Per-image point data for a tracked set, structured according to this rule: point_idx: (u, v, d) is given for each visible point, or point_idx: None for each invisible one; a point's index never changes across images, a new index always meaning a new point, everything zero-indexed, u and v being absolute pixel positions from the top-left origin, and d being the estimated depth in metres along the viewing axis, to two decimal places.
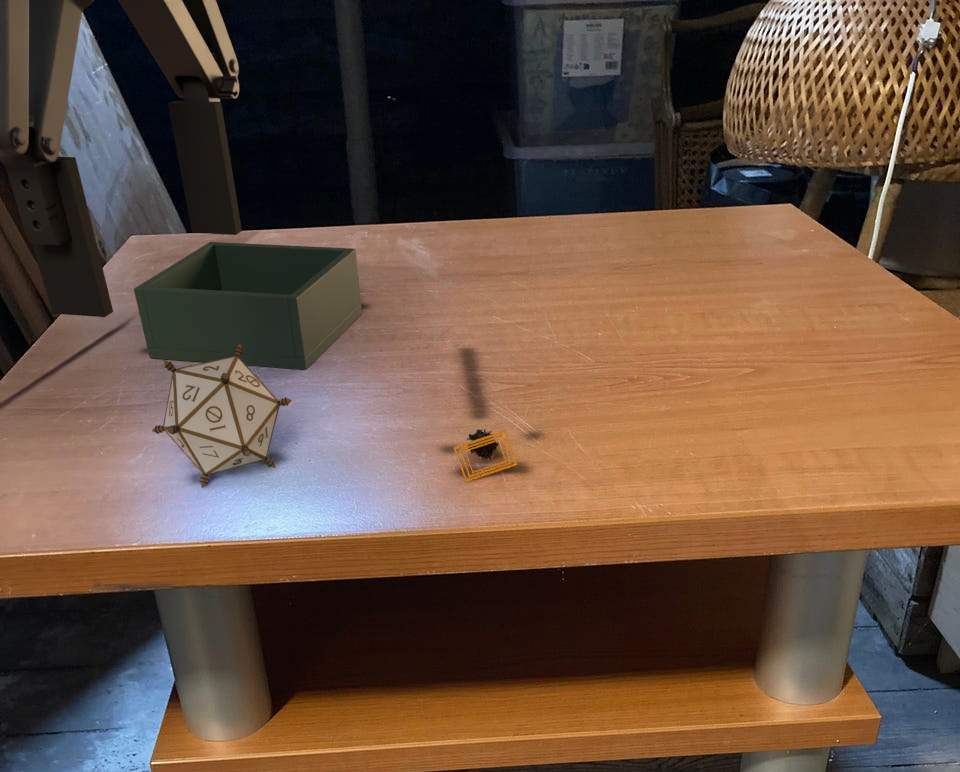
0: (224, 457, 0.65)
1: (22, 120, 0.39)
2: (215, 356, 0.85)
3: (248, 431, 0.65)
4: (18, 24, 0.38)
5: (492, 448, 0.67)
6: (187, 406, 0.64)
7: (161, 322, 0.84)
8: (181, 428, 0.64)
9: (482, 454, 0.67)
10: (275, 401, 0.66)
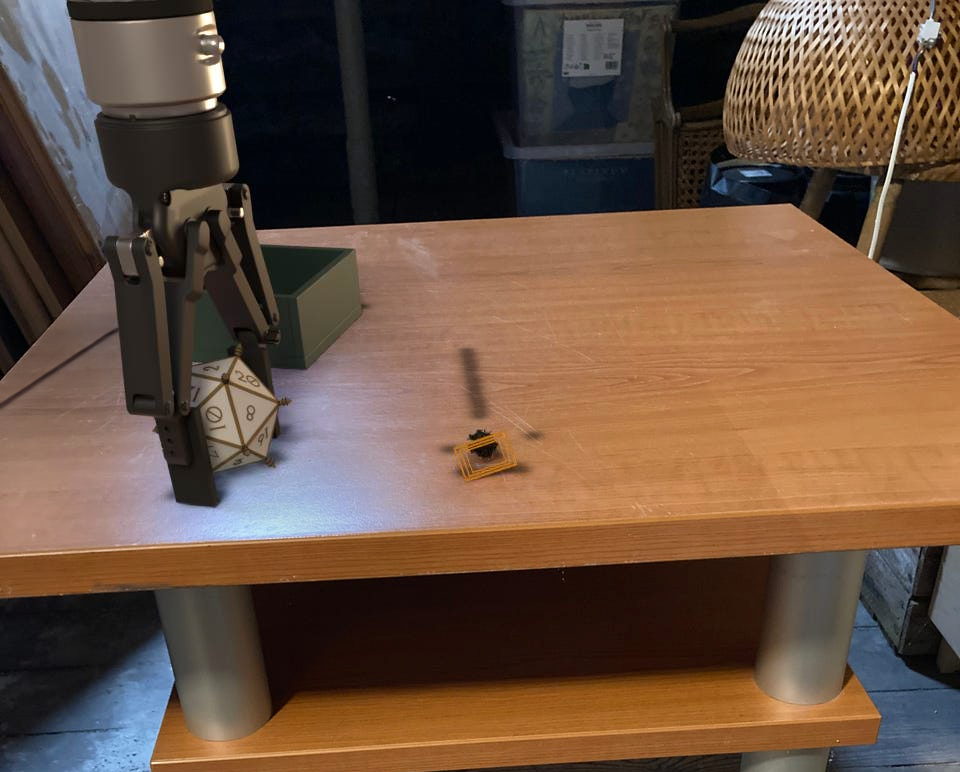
0: (224, 457, 0.65)
1: (169, 395, 0.58)
2: (215, 356, 0.85)
3: (248, 431, 0.65)
4: (162, 336, 0.57)
5: (492, 448, 0.67)
6: None
7: None
8: None
9: (482, 454, 0.67)
10: (275, 401, 0.66)
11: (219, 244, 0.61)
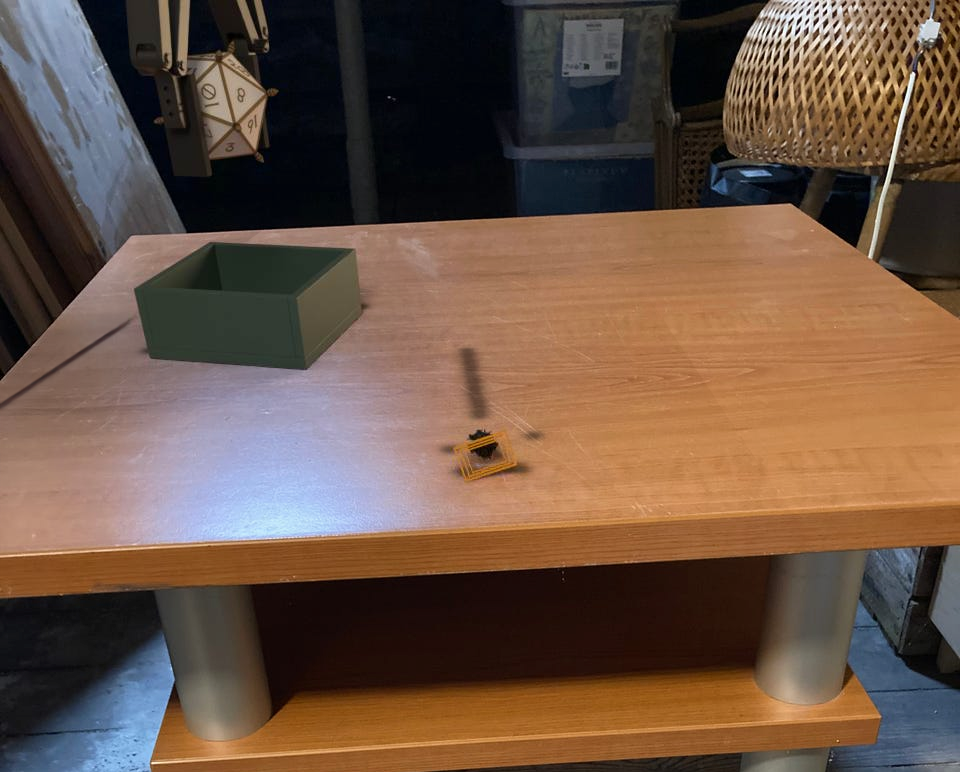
0: (217, 137, 0.74)
1: (168, 47, 0.66)
2: (215, 356, 0.85)
3: (238, 111, 0.73)
4: None
5: (492, 448, 0.67)
6: None
7: (161, 322, 0.84)
8: None
9: (482, 454, 0.67)
10: (263, 90, 0.74)
11: None
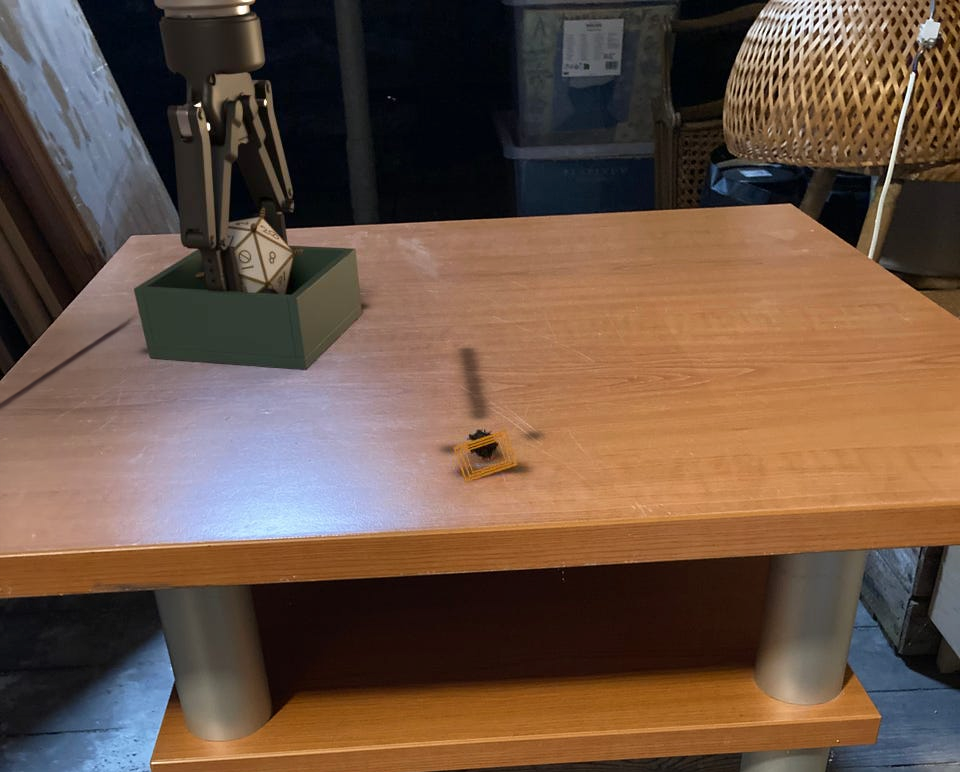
0: (252, 292, 0.85)
1: (213, 231, 0.78)
2: (215, 356, 0.85)
3: (270, 271, 0.84)
4: (209, 184, 0.76)
5: (492, 448, 0.67)
6: None
7: (161, 322, 0.84)
8: None
9: (482, 454, 0.67)
10: (291, 251, 0.86)
11: (249, 123, 0.81)
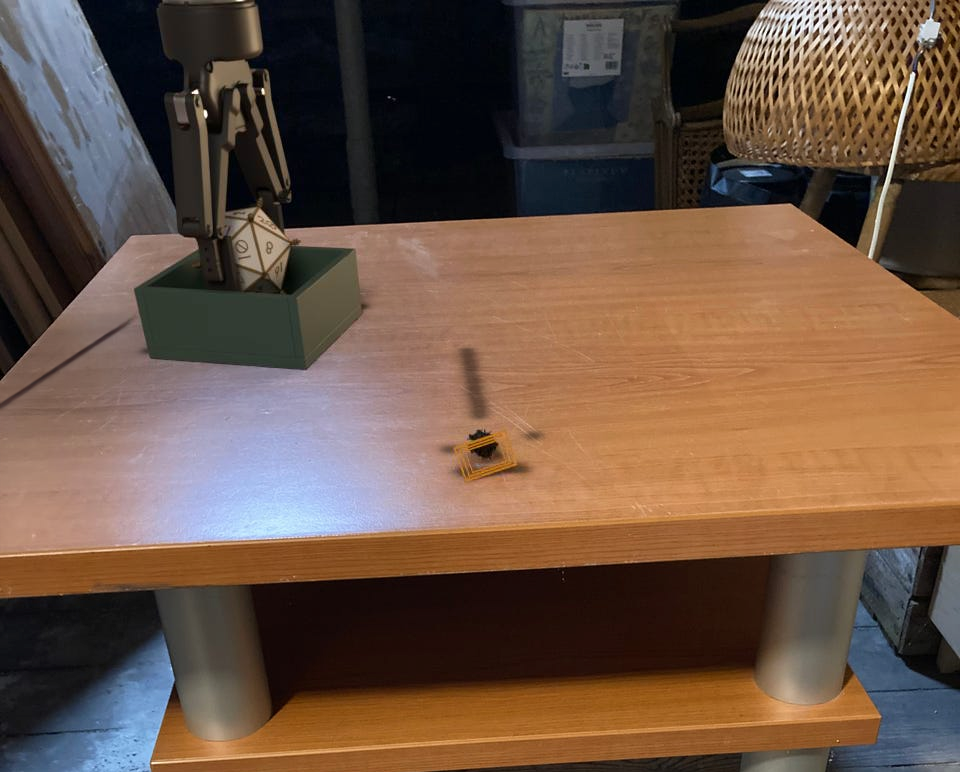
0: (249, 283, 0.85)
1: (209, 219, 0.77)
2: (215, 356, 0.85)
3: (267, 261, 0.84)
4: (205, 172, 0.76)
5: (492, 448, 0.67)
6: None
7: (161, 322, 0.84)
8: None
9: (482, 454, 0.67)
10: (288, 241, 0.85)
11: (246, 111, 0.80)
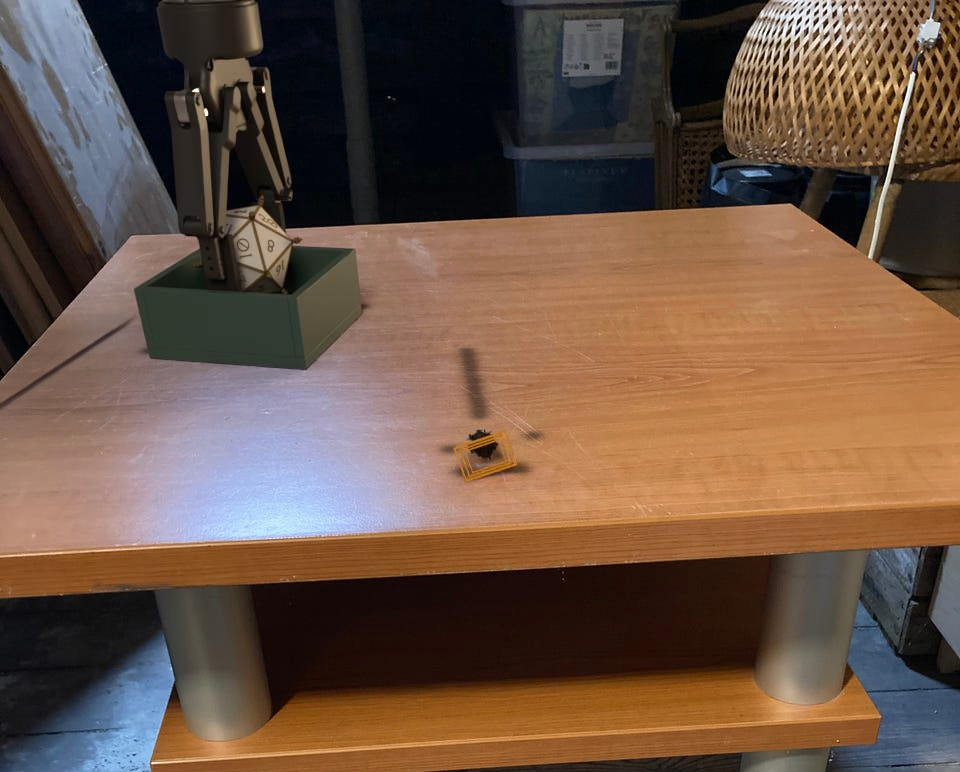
0: (250, 281, 0.85)
1: (210, 218, 0.77)
2: (215, 356, 0.85)
3: (269, 259, 0.84)
4: (206, 170, 0.76)
5: (492, 448, 0.67)
6: None
7: (161, 322, 0.84)
8: None
9: (482, 454, 0.67)
10: (289, 239, 0.85)
11: (247, 109, 0.80)
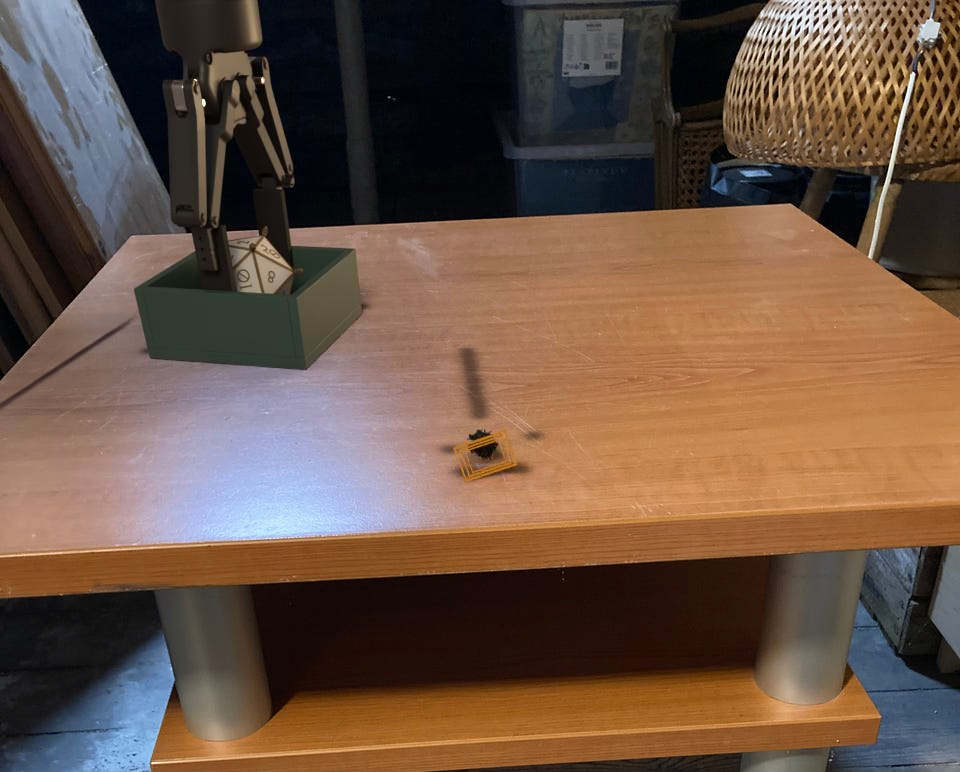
0: None
1: (204, 208, 0.76)
2: (215, 356, 0.85)
3: (269, 290, 0.85)
4: (201, 160, 0.75)
5: (492, 448, 0.67)
6: None
7: (161, 322, 0.84)
8: None
9: (482, 454, 0.67)
10: (291, 270, 0.86)
11: (246, 103, 0.80)
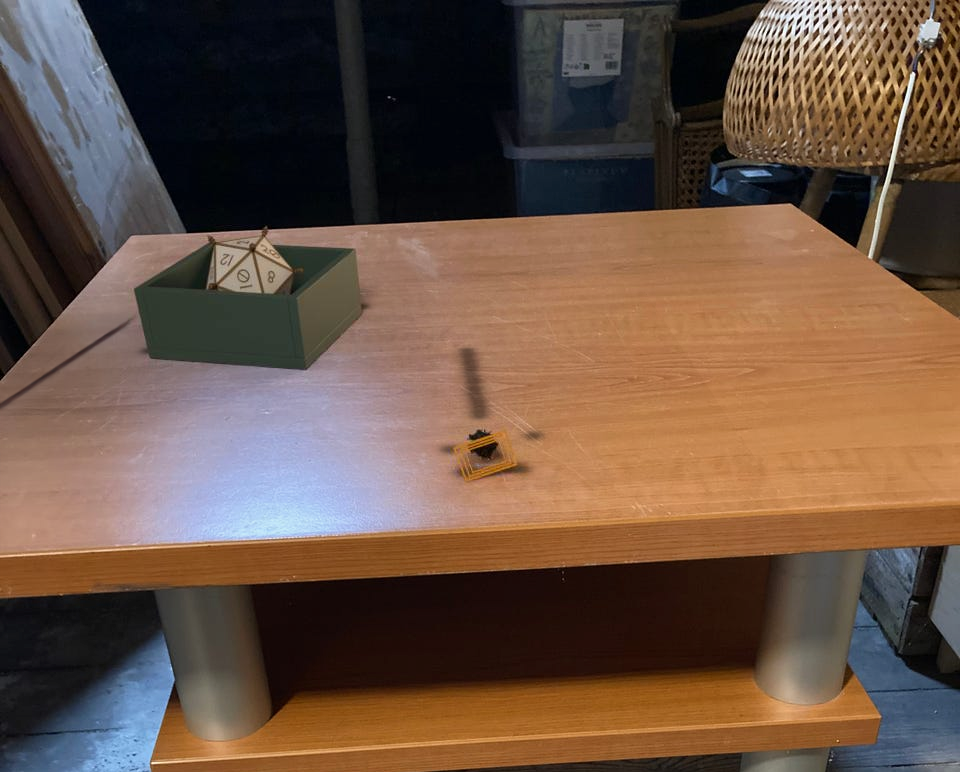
0: None
1: None
2: (215, 356, 0.85)
3: (269, 290, 0.85)
4: None
5: (492, 448, 0.67)
6: (223, 269, 0.84)
7: (161, 322, 0.84)
8: (218, 286, 0.84)
9: (482, 454, 0.67)
10: (291, 270, 0.86)
11: None
